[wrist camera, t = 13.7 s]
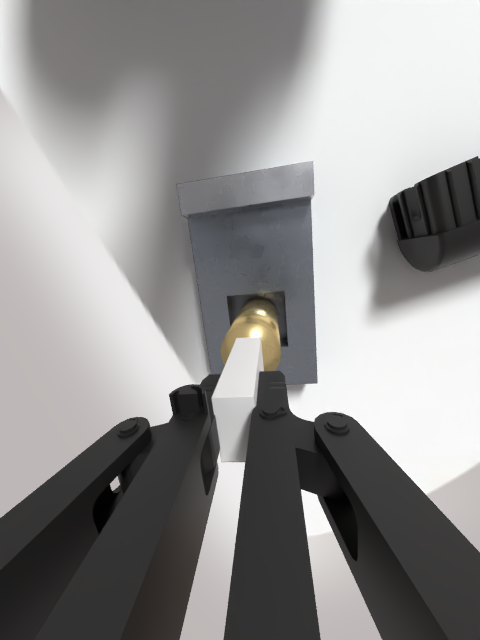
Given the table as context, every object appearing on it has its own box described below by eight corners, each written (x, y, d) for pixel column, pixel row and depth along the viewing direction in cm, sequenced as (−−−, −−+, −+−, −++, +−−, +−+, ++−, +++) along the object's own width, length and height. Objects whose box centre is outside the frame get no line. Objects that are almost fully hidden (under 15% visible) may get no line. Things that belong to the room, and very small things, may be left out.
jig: (194, 196, 24) (175, 180, 19) (303, 178, 23) (313, 156, 18) (219, 372, 29) (209, 395, 24) (311, 368, 27) (320, 391, 22)
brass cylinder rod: (237, 299, 25) (216, 327, 15) (275, 295, 24) (277, 321, 15) (242, 335, 26) (225, 382, 16) (279, 332, 25) (283, 378, 16)
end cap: (400, 270, 24) (449, 275, 17) (381, 200, 22) (427, 176, 16) (514, 229, 22) (618, 217, 15) (501, 150, 20) (609, 99, 14)
